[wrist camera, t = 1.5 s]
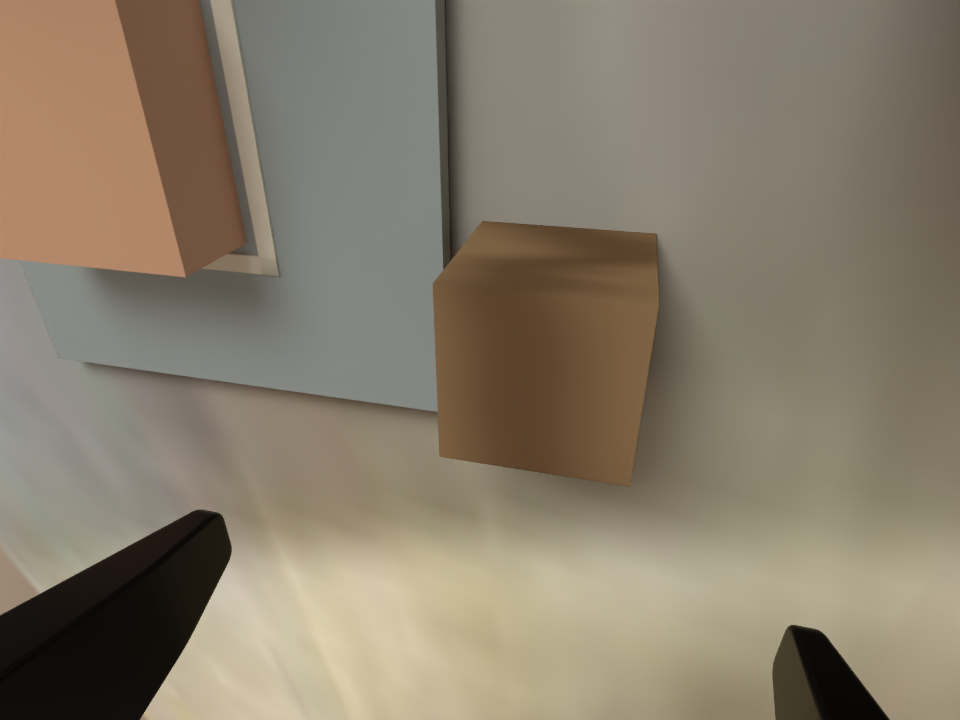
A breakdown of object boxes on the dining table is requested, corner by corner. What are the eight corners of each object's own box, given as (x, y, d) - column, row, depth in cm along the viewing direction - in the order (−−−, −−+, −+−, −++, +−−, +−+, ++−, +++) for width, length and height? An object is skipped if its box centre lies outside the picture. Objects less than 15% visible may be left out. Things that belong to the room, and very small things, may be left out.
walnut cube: (656, 232, 17) (659, 305, 13) (633, 383, 19) (629, 486, 15) (483, 220, 18) (432, 283, 14) (482, 365, 20) (439, 456, 16)
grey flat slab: (442, -92, 14) (431, -98, 14) (453, 400, 21) (446, 415, 21) (-85, -73, 18) (-117, -78, 17) (74, 348, 25) (55, 359, 24)
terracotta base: (196, -17, 16) (109, -23, 13) (246, 242, 19) (185, 277, 17) (-20, -15, 17) (-136, -20, 15) (63, 226, 21) (-19, 256, 18)
